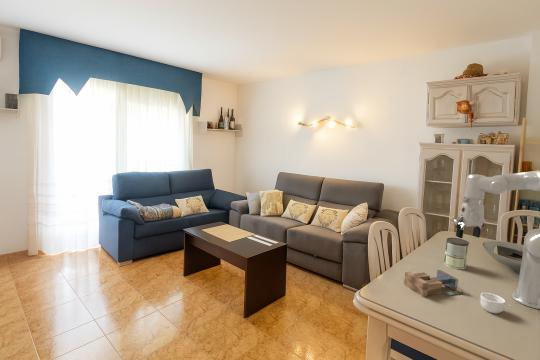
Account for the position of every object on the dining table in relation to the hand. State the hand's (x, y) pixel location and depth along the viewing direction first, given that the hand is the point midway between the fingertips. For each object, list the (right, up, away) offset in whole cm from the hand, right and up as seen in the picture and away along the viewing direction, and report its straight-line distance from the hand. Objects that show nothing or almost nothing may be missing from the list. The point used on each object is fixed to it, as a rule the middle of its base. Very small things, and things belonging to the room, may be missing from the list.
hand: (467, 236), depth 136 cm
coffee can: (+8, -20, +23) cm, 32 cm away
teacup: (-3, -26, -21) cm, 33 cm away
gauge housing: (-19, -23, -4) cm, 30 cm away
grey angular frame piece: (-14, -22, -3) cm, 27 cm away
